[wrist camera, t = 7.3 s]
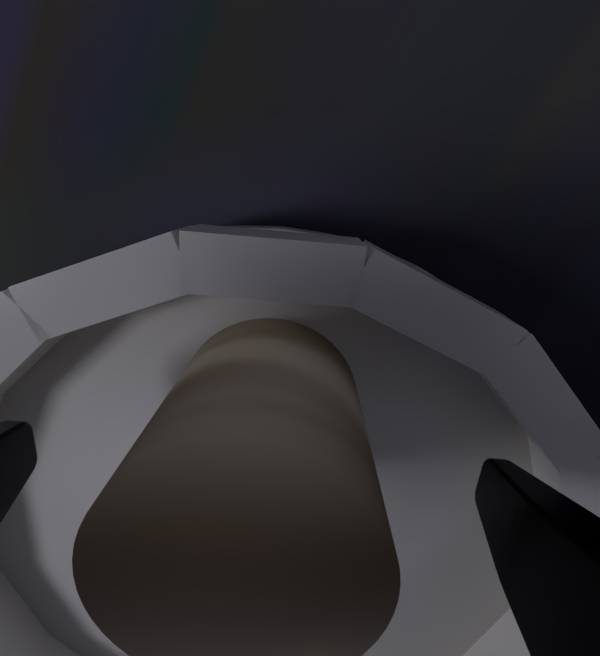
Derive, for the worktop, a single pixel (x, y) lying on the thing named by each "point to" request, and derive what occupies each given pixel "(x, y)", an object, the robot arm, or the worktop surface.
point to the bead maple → (245, 511)
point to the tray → (372, 387)
